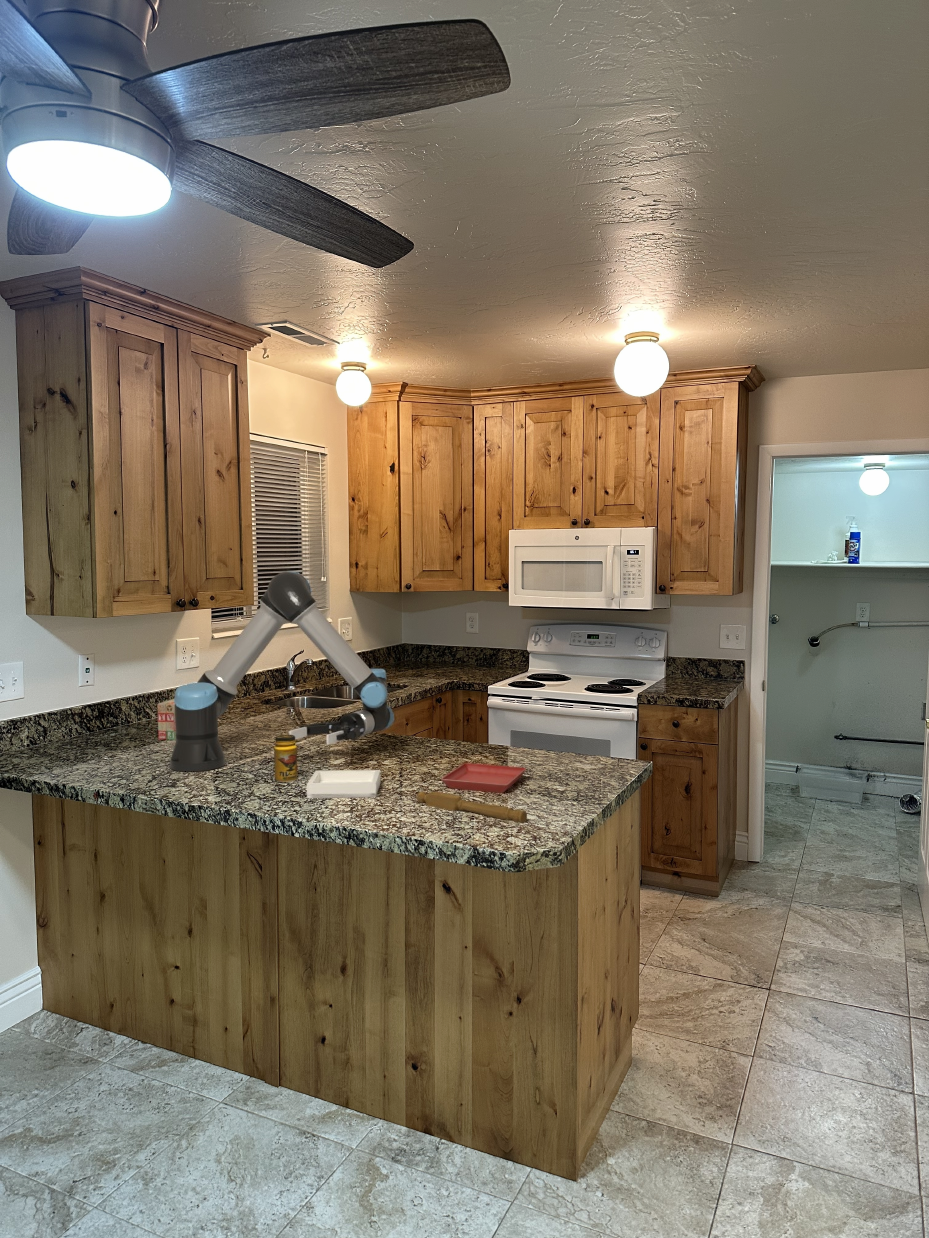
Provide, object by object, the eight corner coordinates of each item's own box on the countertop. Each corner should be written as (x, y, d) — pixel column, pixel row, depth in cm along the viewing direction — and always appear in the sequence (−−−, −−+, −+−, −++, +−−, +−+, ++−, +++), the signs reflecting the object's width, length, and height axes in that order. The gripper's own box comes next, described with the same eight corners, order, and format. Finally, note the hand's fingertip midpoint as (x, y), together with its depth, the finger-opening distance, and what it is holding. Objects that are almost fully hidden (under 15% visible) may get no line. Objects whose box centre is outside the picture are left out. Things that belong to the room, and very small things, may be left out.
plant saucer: (507, 796, 207) (507, 783, 207) (440, 790, 213) (439, 778, 213) (527, 779, 224) (527, 767, 224) (464, 774, 230) (464, 762, 230)
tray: (307, 798, 205) (306, 784, 205) (316, 783, 219) (315, 770, 219) (376, 797, 206) (375, 783, 206) (380, 782, 220) (380, 769, 220)
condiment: (290, 784, 219) (289, 739, 219) (262, 781, 222) (261, 737, 221) (304, 777, 226) (303, 733, 226) (276, 775, 229) (275, 732, 228)
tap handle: (520, 812, 183) (414, 791, 200) (520, 825, 183) (414, 803, 201) (527, 808, 186) (422, 788, 203) (527, 822, 186) (422, 801, 203)
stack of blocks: (191, 727, 302) (190, 693, 301) (206, 728, 300) (206, 694, 300) (157, 739, 281) (156, 703, 280) (174, 739, 279) (173, 703, 279)
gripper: (390, 740, 244) (344, 755, 226) (324, 733, 257) (275, 746, 239) (389, 715, 244) (343, 727, 225) (323, 709, 256) (275, 721, 238)
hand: (308, 737), depth 232 cm, fingers open, 13 cm apart
